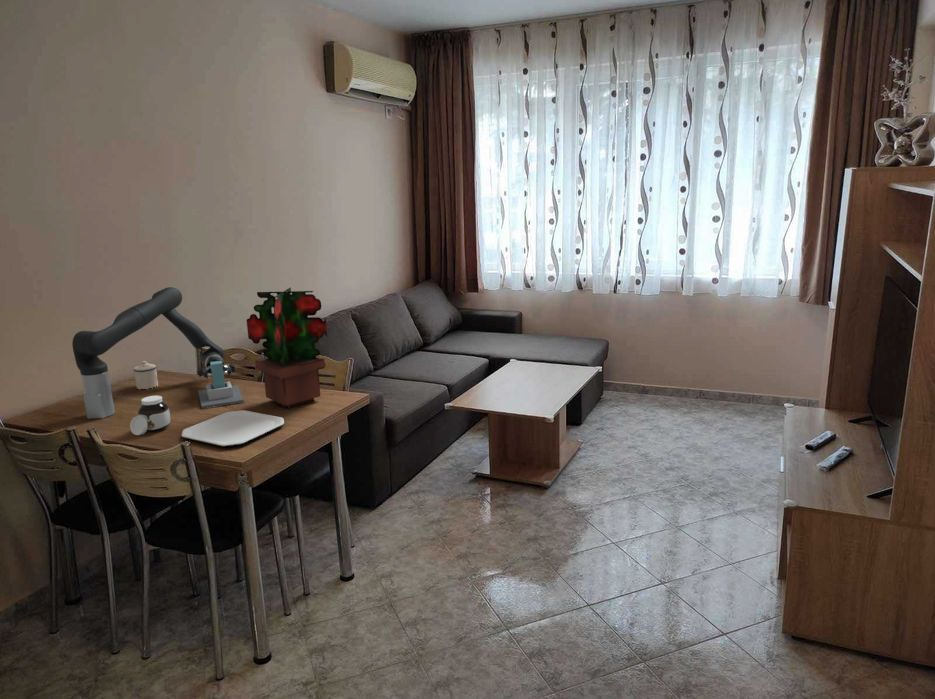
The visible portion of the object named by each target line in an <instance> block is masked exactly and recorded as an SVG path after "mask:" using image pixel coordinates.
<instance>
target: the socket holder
mask: <svg viewBox="0 0 935 699" xmlns="http://www.w3.org/2000/svg"><path fill="white" fill-rule="evenodd" d="M205 385H206V389H201V390H197V392H198V397H199V402H200V408H201V407H202V408H205V409H208V408H207V407H211V408H214V407H213V406H218V407H221V406H220V405H225V406H228V405H227V404H231V405H237V404H236V403H238V404H242V403H243V402H244V403H245V400H244V398H243V395H242V392H241V389H240V388H239V385H238V384H237V385H232V383H231V381H230V380H229V381H225V387H224V388H217V389H213V383H209V384H208V383H207V384H205ZM244 403H243V404H244ZM202 408H201V409H202Z"/></svg>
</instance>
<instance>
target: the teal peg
mask: <svg viewBox="0 0 935 699" xmlns="http://www.w3.org/2000/svg"><path fill="white" fill-rule="evenodd" d="M210 365H211V373H212V375H211V379H212V384H213V389H217V388H224V387H225V382H226V381H225V374H224V372H223V364H222V361H215V362H210Z"/></svg>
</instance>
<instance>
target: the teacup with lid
mask: <svg viewBox="0 0 935 699" xmlns="http://www.w3.org/2000/svg"><path fill="white" fill-rule="evenodd" d="M133 374H134V379H135V383H136V389H138V390H141V389H146V390H150V389H149V388H152V389H154V388H153V387H155V388H157V387H159V380H158V375H157V374H158V372H157V365H155V364H151V363H149V362H147V360H143V361H141V363H139V365H137V366H135V367H134V368H133ZM156 386H157V387H156Z"/></svg>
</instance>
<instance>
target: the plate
mask: <svg viewBox="0 0 935 699" xmlns="http://www.w3.org/2000/svg"><path fill="white" fill-rule="evenodd" d="M283 425H285V419H284V418H283V417H280V416H276V415H270V414H264V413H260V412H254V411H249V410H243V409H242V410H232V411H226V412H224V413H223V412H222V413H220V414H218V415H215V416H213V417H211V418H208V419H206V420H204V421H202V422H199V423H196V424H194V425H191V426H188V427H187V428H183V430H182V432H181V434H180V435H181V436H180V437H181V438H182V439H183V438H184V439H188V440H193V441H197V442H199V443H200V442H201V443H205V444H210V445H215V446H219V447H223V448H224V447H225V448H227V447H226V446H229V447H235V446H234V445H237V446H241V444H242V445H244V444H247V443H248V441H249V442H251V441H253V440H255V439H257V438H259V437H261V436H264V435H265V433H266V434H267V432H268V433H270V432H272V431H274V430H276V429H278V428H280V427H283ZM250 440H251V441H250Z"/></svg>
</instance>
